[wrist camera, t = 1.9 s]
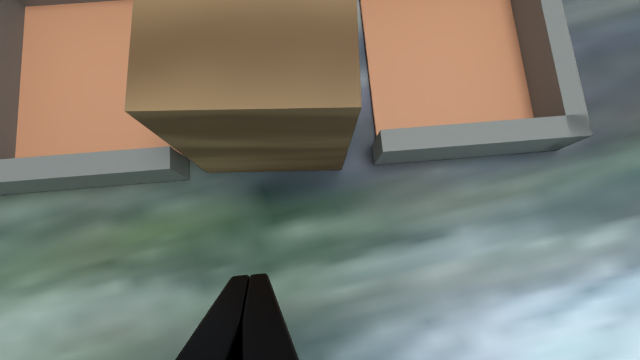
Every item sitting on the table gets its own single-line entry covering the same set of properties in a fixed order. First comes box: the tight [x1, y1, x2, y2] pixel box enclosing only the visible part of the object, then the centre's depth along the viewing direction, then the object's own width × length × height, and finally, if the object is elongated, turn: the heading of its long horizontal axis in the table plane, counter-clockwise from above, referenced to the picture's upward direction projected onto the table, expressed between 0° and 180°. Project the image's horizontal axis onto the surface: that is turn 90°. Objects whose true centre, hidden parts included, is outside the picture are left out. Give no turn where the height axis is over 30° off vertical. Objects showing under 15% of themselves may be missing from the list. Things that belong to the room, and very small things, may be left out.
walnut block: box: [124, 0, 361, 173], centre depth 19 cm, size 15×8×10 cm, turn 2°
